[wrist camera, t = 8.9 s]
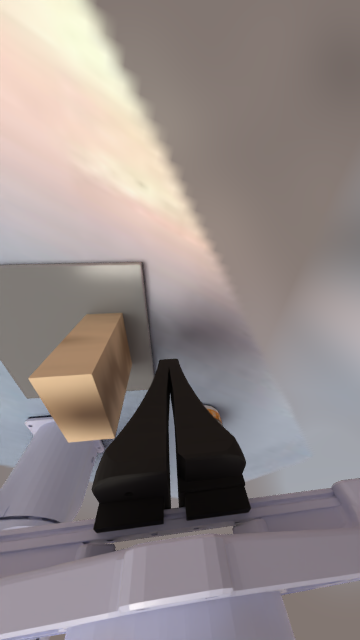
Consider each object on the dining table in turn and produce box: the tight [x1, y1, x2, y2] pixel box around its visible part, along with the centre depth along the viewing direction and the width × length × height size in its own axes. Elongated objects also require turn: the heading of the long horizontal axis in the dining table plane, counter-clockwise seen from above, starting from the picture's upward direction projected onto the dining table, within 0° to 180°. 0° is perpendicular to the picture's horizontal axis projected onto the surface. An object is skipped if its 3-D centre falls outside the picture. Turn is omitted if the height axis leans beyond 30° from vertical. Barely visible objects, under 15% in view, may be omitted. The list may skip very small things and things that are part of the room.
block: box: [28, 313, 132, 443], centre depth 13 cm, size 6×3×7 cm, turn 0°
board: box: [0, 262, 154, 399], centre depth 16 cm, size 14×14×1 cm
